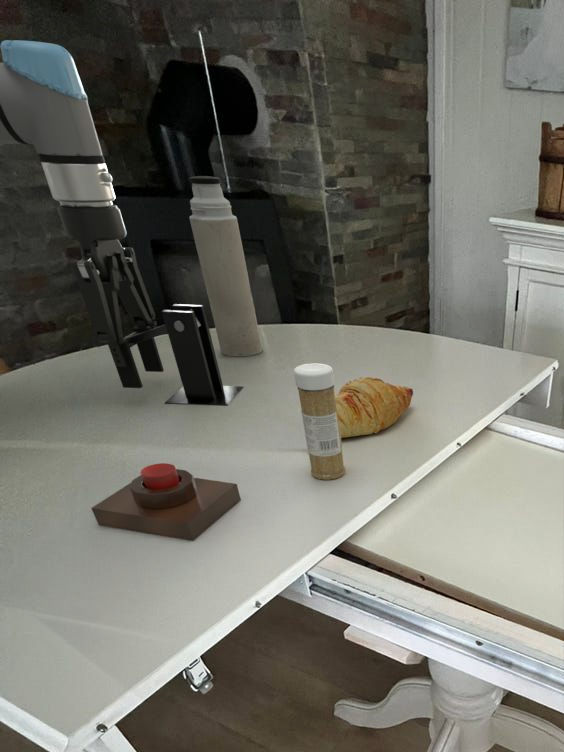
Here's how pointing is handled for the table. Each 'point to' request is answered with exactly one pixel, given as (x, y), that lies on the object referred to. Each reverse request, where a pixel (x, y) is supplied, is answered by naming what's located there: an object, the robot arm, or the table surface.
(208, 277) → the thermos bottle
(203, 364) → the bracket
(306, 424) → the spice jar
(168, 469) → the button
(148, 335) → the lever
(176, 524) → the button block
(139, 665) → the table surface
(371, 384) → the croissant
